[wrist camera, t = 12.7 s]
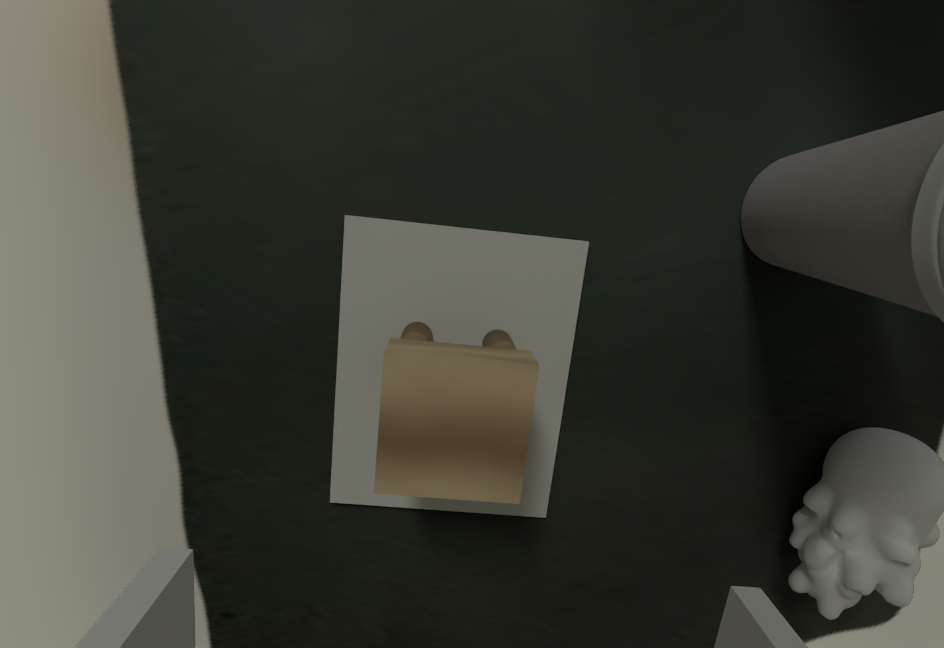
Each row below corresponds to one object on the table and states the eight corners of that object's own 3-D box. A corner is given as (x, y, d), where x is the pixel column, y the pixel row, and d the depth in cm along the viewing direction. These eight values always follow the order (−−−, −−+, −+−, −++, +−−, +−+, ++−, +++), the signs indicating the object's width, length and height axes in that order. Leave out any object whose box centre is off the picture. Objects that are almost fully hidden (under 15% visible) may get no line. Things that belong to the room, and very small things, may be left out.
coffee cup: (773, 323, 31) (1061, 423, 16) (682, 205, 29) (915, 201, 15) (903, 217, 30) (1334, 224, 15) (817, 88, 28) (1214, -44, 14)
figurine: (969, 449, 31) (895, 621, 32) (840, 407, 35) (781, 560, 37) (981, 465, 26) (892, 669, 27) (828, 413, 30) (759, 591, 32)
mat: (346, 215, 29) (344, 215, 28) (587, 241, 29) (589, 241, 29) (331, 498, 32) (329, 502, 32) (544, 514, 33) (545, 517, 33)
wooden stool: (400, 316, 30) (384, 351, 22) (517, 327, 30) (539, 366, 23) (391, 426, 31) (373, 493, 24) (503, 435, 32) (519, 504, 24)
